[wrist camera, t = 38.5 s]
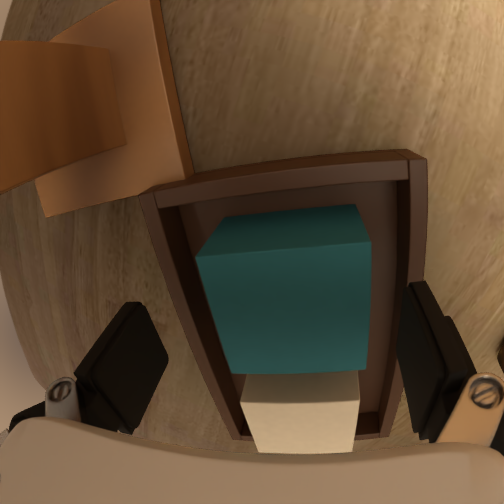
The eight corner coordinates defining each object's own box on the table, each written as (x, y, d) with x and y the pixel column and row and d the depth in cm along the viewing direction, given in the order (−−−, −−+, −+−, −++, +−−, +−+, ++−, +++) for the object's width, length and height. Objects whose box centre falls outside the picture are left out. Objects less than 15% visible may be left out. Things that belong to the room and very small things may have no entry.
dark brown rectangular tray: (239, 414, 22) (232, 439, 20) (162, 179, 14) (137, 194, 12) (386, 410, 19) (389, 436, 17) (408, 148, 12) (427, 158, 9)
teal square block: (247, 320, 17) (231, 373, 13) (223, 216, 14) (194, 257, 11) (358, 313, 15) (366, 369, 12) (355, 203, 13) (371, 241, 9)
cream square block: (267, 406, 20) (258, 452, 17) (252, 349, 18) (239, 402, 14) (351, 404, 19) (352, 452, 15) (355, 345, 16) (360, 400, 13)
